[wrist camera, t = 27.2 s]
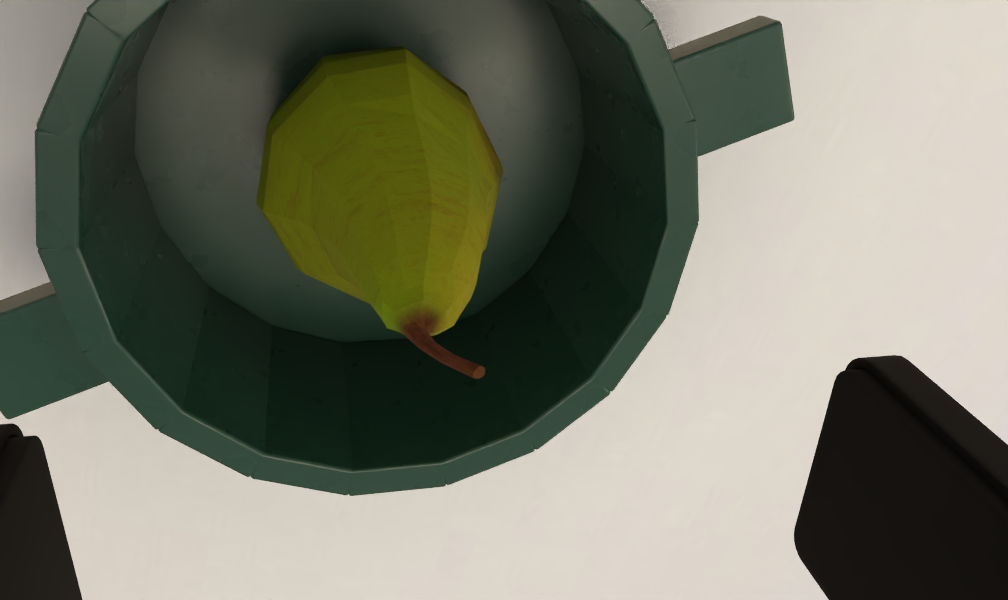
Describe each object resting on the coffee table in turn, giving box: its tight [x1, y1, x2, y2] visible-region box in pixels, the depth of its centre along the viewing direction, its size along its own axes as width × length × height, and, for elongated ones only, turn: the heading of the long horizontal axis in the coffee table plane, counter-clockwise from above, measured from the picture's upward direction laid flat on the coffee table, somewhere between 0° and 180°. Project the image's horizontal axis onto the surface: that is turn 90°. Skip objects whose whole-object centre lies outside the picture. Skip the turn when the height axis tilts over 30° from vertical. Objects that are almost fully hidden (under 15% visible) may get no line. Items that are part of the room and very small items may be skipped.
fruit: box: [256, 46, 503, 379], centre depth 19 cm, size 6×6×12 cm
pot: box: [0, 0, 794, 496], centre depth 21 cm, size 14×19×7 cm
